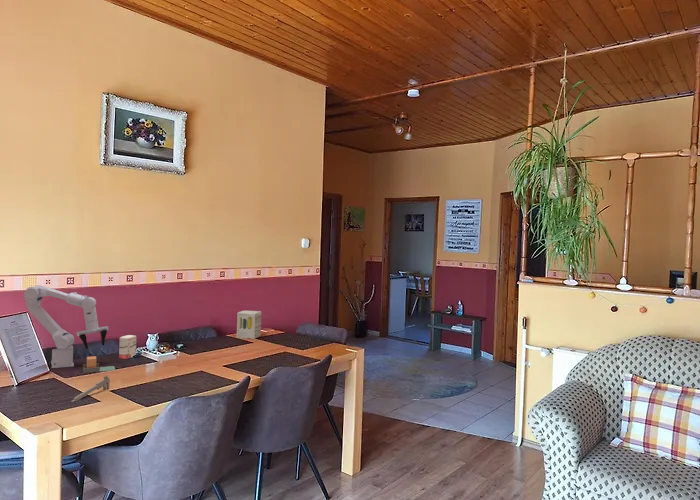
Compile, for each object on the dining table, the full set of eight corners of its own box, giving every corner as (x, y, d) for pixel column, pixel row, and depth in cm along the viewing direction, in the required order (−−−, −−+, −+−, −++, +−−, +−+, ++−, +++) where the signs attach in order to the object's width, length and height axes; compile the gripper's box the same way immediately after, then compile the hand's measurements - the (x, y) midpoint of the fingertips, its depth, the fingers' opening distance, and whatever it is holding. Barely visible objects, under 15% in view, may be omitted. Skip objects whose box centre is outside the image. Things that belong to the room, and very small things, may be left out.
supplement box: (236, 337, 337) (236, 312, 337) (243, 334, 350) (244, 310, 350) (254, 339, 335) (255, 313, 334) (261, 335, 348) (261, 311, 347)
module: (86, 371, 238) (87, 359, 238) (86, 368, 243) (86, 356, 243) (96, 371, 240) (96, 358, 240) (95, 368, 245) (95, 356, 245)
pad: (99, 372, 239) (99, 371, 239) (98, 368, 247) (98, 367, 247) (115, 370, 243) (115, 370, 243) (114, 366, 250) (114, 365, 250)
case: (83, 373, 236) (83, 368, 236) (82, 366, 248) (82, 361, 248) (99, 372, 239) (99, 367, 239) (98, 365, 252) (98, 360, 252)
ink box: (126, 359, 266) (126, 338, 266) (118, 359, 267) (118, 337, 267) (136, 356, 274) (136, 335, 274) (128, 355, 275) (129, 334, 275)
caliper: (107, 388, 215) (107, 374, 215) (109, 388, 215) (109, 374, 215) (70, 402, 195) (71, 387, 195) (73, 402, 195) (73, 387, 195)
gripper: (76, 324, 244) (80, 351, 244) (108, 318, 252) (112, 344, 253) (74, 323, 249) (78, 349, 250) (105, 317, 258) (109, 342, 259)
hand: (95, 346), depth 252 cm, fingers open, 7 cm apart
